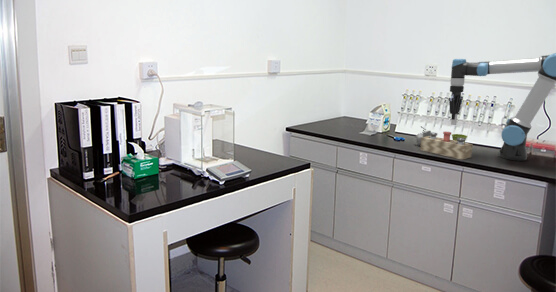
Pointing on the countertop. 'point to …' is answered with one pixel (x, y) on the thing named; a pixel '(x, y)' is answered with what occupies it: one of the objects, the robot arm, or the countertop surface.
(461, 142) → the plug near
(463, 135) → the plant pot
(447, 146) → the block
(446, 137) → the red plug
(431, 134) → the plug far
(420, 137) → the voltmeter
